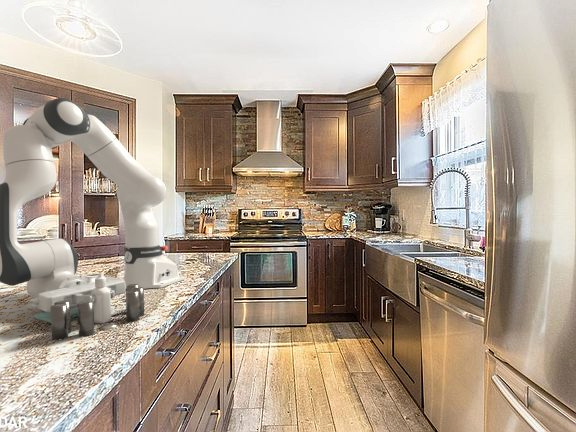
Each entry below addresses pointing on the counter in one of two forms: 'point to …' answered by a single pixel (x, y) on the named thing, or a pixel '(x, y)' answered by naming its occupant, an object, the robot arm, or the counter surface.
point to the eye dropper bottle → (101, 301)
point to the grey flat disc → (108, 326)
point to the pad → (47, 315)
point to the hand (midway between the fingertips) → (103, 297)
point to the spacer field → (92, 313)
